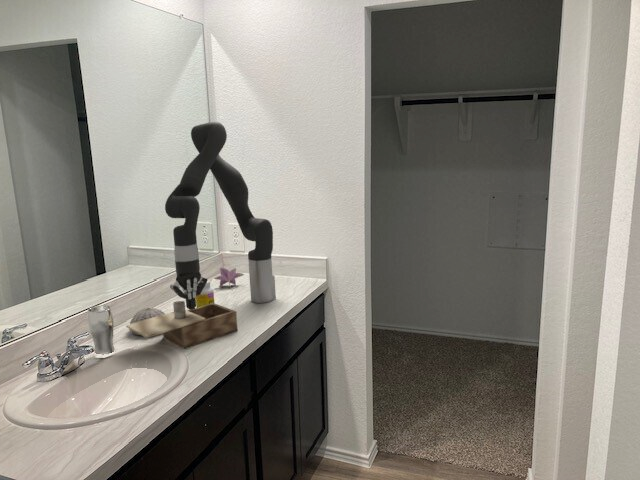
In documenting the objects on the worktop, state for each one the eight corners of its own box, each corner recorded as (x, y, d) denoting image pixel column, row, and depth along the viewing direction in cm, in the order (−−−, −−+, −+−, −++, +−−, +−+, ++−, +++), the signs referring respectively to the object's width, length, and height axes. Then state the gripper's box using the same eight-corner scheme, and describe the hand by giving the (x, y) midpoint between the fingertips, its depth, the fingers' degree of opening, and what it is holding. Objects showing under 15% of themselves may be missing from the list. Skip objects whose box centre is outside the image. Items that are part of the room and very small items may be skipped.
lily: (248, 287, 228) (244, 267, 231) (237, 284, 217) (233, 263, 220) (224, 295, 231) (220, 275, 233) (212, 292, 219) (208, 271, 222)
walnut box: (214, 321, 183) (213, 302, 182) (237, 330, 173) (236, 311, 172) (163, 337, 170) (161, 317, 168) (184, 348, 160) (182, 327, 158)
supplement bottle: (211, 318, 187) (208, 284, 185) (194, 317, 188) (191, 284, 186) (218, 312, 194) (215, 279, 191) (201, 311, 195) (199, 279, 192)
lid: (183, 310, 174) (181, 294, 173) (205, 319, 164) (204, 303, 163) (126, 326, 160) (124, 309, 159) (146, 338, 150) (144, 319, 149)
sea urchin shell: (153, 340, 168) (150, 317, 167) (120, 336, 173) (117, 313, 172) (177, 326, 181) (175, 304, 179) (146, 322, 185) (144, 301, 184)
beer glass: (93, 361, 153) (87, 313, 150) (92, 353, 159) (86, 307, 156) (118, 356, 156) (112, 309, 153) (115, 348, 162) (110, 303, 159)
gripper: (198, 252, 172) (202, 301, 175) (162, 260, 163) (167, 311, 166) (210, 255, 166) (214, 306, 170) (174, 263, 157) (179, 316, 161)
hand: (191, 309), depth 168 cm, fingers closed
